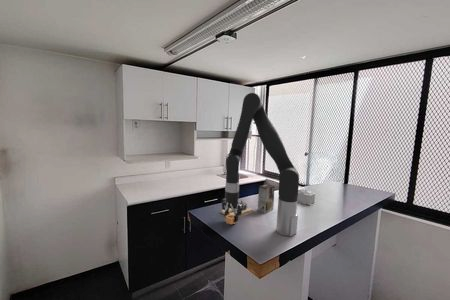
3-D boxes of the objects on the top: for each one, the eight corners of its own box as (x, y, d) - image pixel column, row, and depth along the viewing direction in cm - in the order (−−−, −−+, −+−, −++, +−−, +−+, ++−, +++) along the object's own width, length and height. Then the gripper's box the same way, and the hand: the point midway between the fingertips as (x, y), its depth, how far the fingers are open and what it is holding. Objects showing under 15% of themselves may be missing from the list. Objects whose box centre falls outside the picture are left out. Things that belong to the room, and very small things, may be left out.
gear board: (253, 211, 134) (254, 201, 134) (234, 219, 123) (235, 207, 122) (239, 206, 143) (239, 196, 142) (220, 212, 131) (221, 201, 131)
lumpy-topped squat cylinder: (309, 205, 149) (309, 193, 148) (292, 200, 159) (293, 189, 158) (315, 202, 156) (316, 191, 155) (299, 197, 166) (300, 187, 165)
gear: (239, 222, 117) (239, 216, 117) (231, 225, 113) (231, 219, 112) (231, 218, 122) (231, 213, 121) (223, 221, 117) (223, 216, 117)
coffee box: (265, 207, 144) (266, 183, 142) (273, 209, 139) (275, 185, 137) (257, 210, 137) (258, 185, 135) (265, 213, 133) (267, 188, 131)
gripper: (246, 191, 113) (245, 222, 115) (227, 186, 123) (226, 214, 125) (237, 194, 108) (236, 226, 109) (218, 188, 118) (217, 217, 120)
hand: (231, 219), depth 117 cm, fingers closed on gear, 6 cm apart
